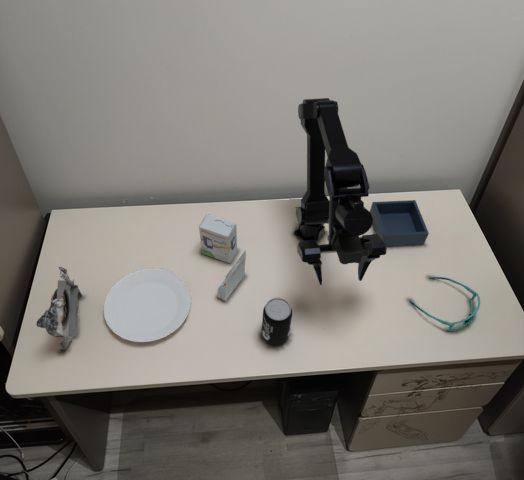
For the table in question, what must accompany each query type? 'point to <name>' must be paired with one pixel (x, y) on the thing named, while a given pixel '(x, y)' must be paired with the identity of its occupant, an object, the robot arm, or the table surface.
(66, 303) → the grey ornamental figurine
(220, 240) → the ink box
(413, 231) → the tub
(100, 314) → the table surface
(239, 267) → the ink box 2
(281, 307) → the beverage can
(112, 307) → the plate
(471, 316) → the sunglasses
